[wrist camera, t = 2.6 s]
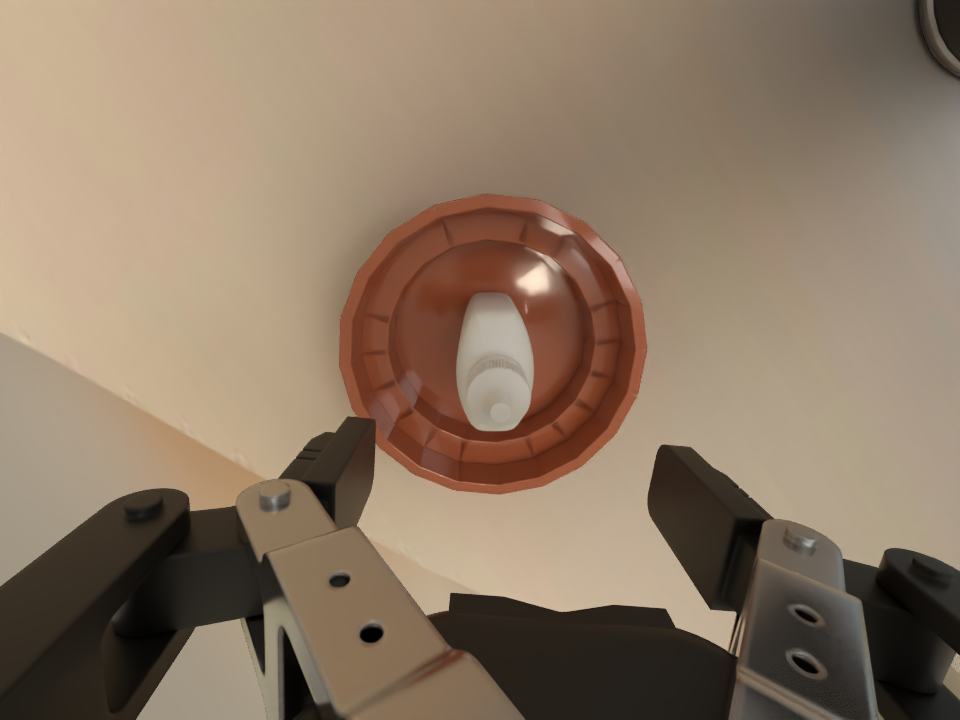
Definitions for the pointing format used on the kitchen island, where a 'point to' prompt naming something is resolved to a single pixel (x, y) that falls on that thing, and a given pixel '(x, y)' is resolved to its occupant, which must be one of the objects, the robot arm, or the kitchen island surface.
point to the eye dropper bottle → (494, 363)
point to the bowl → (437, 328)
